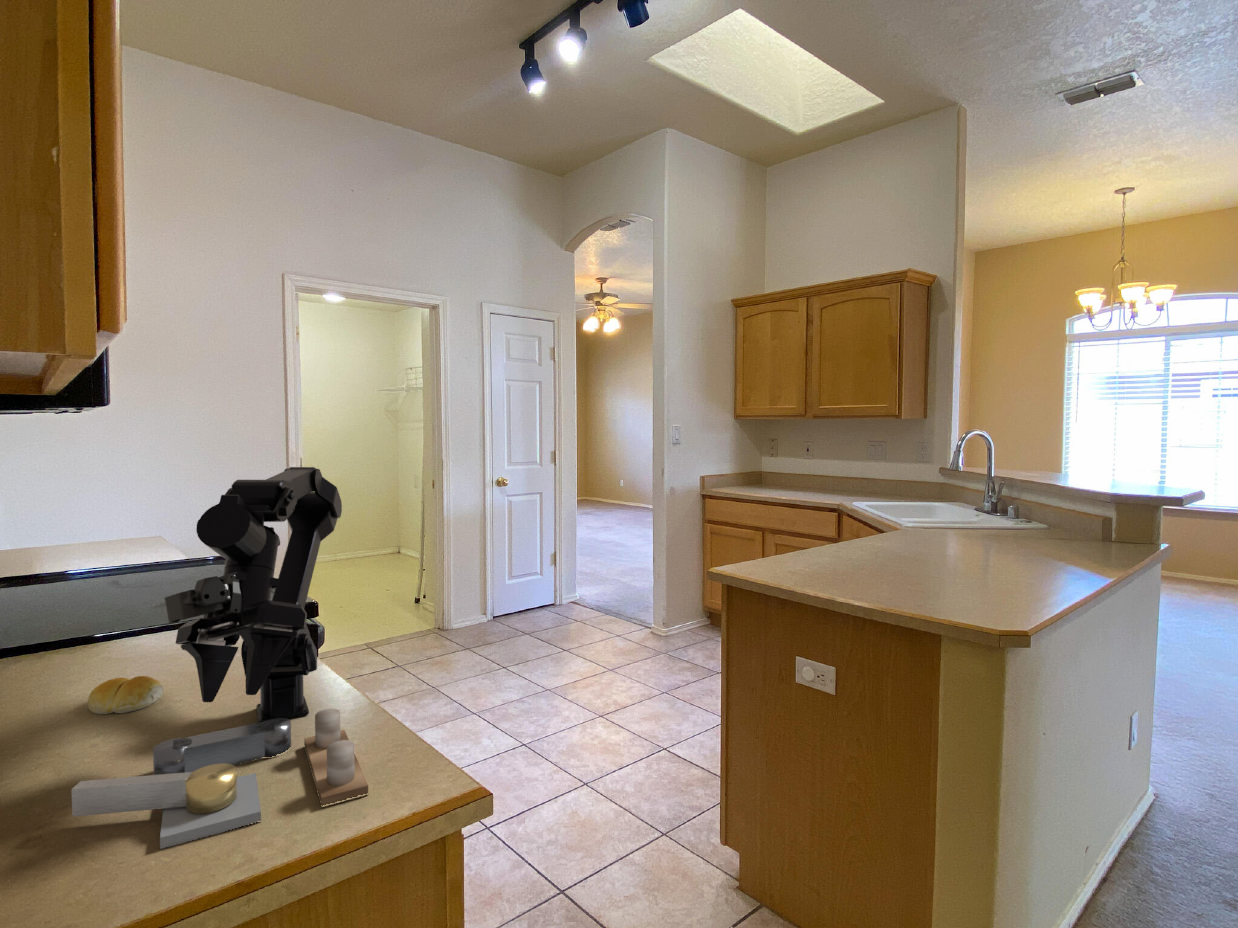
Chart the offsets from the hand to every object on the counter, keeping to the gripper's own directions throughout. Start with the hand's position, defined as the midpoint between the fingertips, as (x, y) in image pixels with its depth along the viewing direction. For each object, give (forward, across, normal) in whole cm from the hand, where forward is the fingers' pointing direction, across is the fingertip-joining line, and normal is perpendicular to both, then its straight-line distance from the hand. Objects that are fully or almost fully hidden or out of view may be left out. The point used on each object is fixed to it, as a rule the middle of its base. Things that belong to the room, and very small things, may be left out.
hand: (228, 698), depth 79 cm
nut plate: (+12, +1, 0) cm, 12 cm away
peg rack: (+9, +5, +12) cm, 15 cm away
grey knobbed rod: (+7, -8, +5) cm, 12 cm away
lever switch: (+11, -2, -5) cm, 12 cm away
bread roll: (-2, -36, +4) cm, 37 cm away
